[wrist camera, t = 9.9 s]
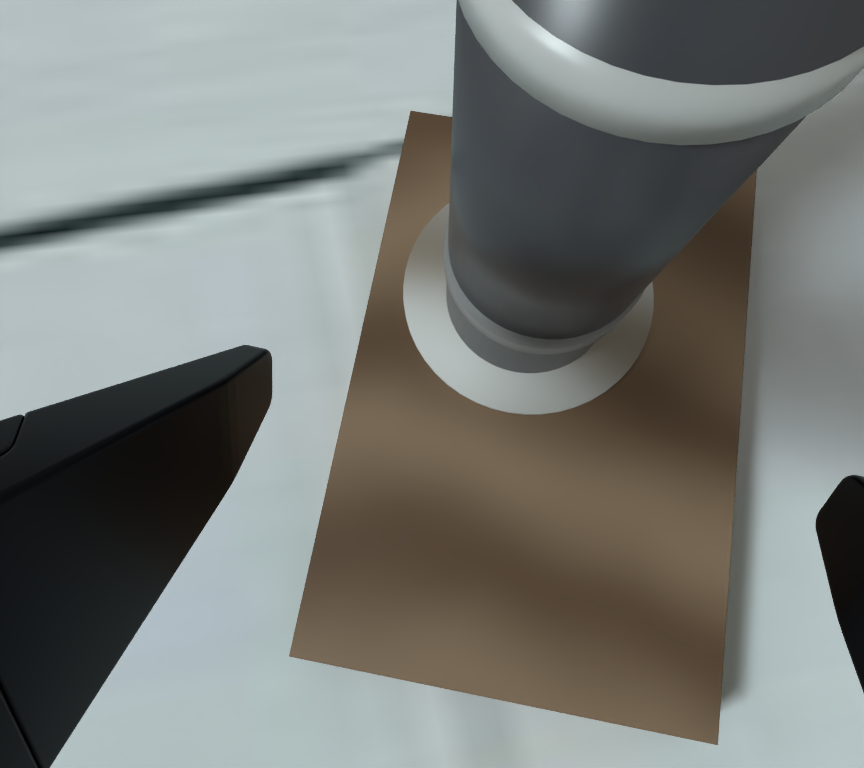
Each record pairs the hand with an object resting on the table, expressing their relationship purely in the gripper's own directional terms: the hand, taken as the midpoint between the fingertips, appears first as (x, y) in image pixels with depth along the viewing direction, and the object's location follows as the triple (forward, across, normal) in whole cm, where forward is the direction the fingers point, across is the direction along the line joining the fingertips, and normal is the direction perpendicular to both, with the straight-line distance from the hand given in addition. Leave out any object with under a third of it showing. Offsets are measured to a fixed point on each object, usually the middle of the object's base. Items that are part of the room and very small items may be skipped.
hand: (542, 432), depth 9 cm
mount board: (+9, -1, +5) cm, 10 cm away
